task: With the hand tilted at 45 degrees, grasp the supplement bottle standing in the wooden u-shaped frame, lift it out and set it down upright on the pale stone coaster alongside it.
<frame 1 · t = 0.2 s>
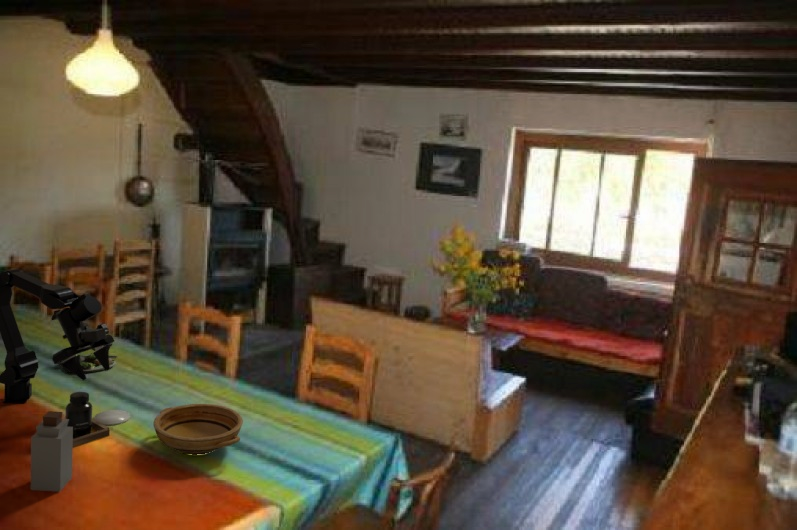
hand: (96, 374, 191), 14 cm above the table, tool tilted 35°, fingers open, 9 cm apart
salad plate: (85, 366, 236), on the table
supplement bottle: (78, 435, 184), resting in wooden u-shaped frame
perfume bottle: (51, 484, 158), on the table
wooden u-shaped frame: (78, 434, 184), on the table
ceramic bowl: (197, 447, 184), on the table
coaster: (112, 418, 196), on the table
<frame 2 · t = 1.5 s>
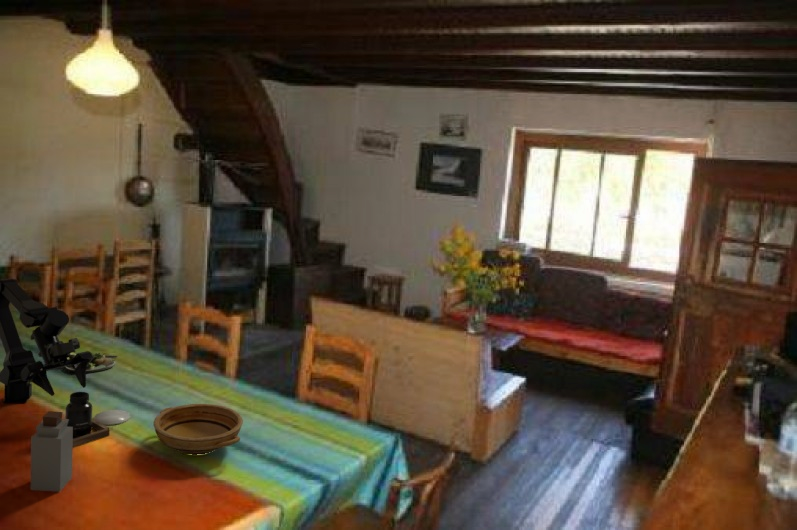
hand: (69, 391, 184), 12 cm above the table, tool tilted 45°, fingers open, 9 cm apart
nothing on the table moved.
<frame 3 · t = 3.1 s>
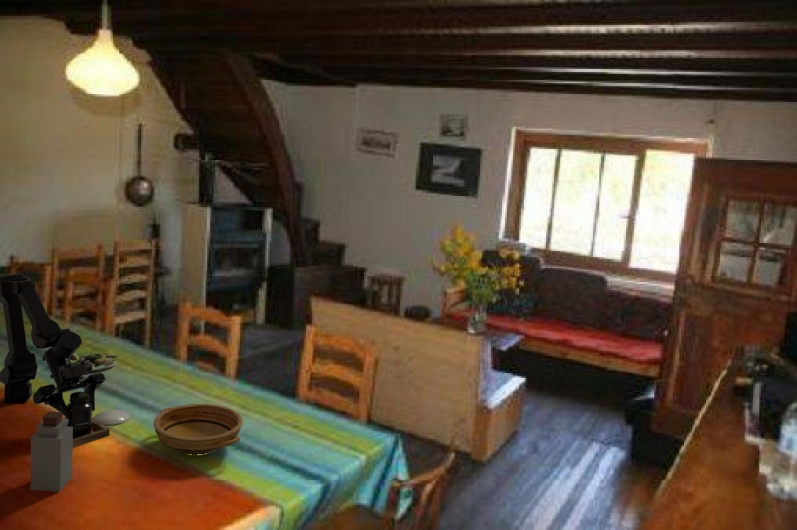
hand: (81, 414, 182), 7 cm above the table, tool tilted 45°, fingers closed on supplement bottle, 7 cm apart
supplement bottle: (78, 435, 184), resting in wooden u-shaped frame, touching gripper
everything else where it was.
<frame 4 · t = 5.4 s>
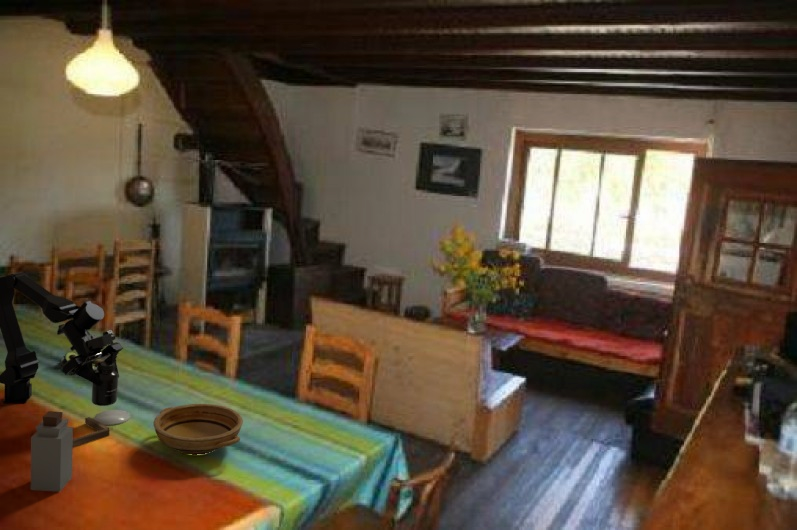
hand: (109, 381, 190), 13 cm above the table, tool tilted 45°, fingers closed on supplement bottle, 7 cm apart
supplement bottle: (104, 402, 191), point 6 cm above the table, touching gripper
everything else where it was.
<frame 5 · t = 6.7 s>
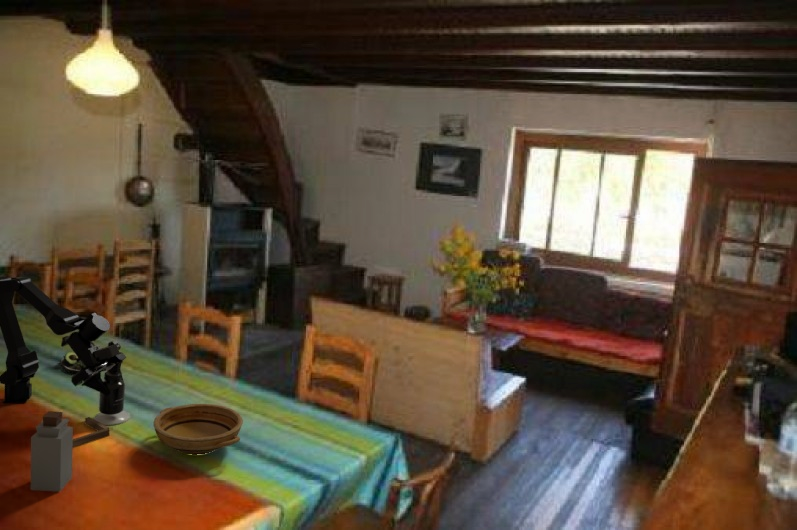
hand: (116, 390, 194), 9 cm above the table, tool tilted 45°, fingers closed on supplement bottle, 7 cm apart
supplement bottle: (111, 411, 195), point 2 cm above the table, touching gripper
everything else where it was.
when the fingers open (8 cm above the table, at t = 7.5 s): supplement bottle stays where it is, resting on coaster.
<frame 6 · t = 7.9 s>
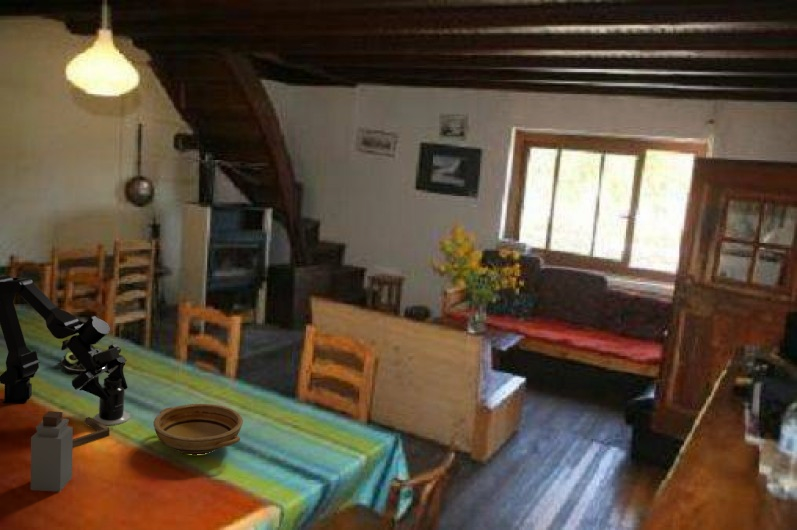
hand: (117, 393, 194), 8 cm above the table, tool tilted 45°, fingers open, 9 cm apart
supplement bottle: (111, 417, 196), resting on coaster
everything else where it was.
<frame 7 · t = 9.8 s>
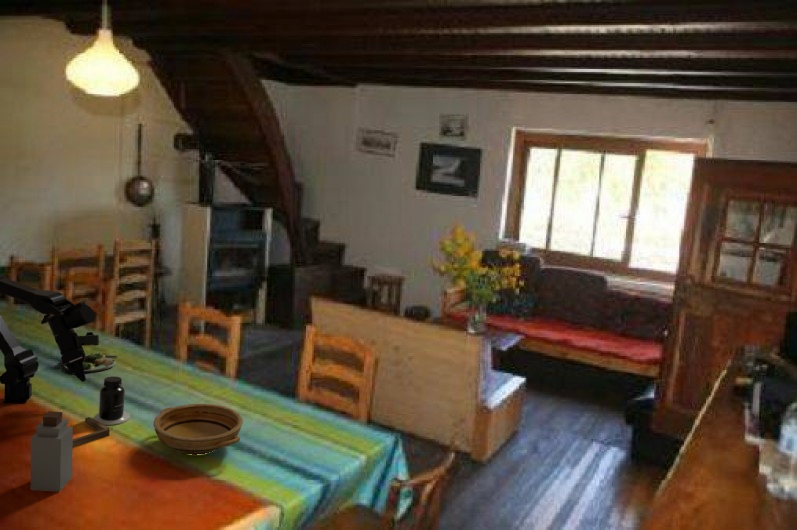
hand: (83, 379, 197), 10 cm above the table, tool tilted 25°, fingers open, 9 cm apart
nothing on the table moved.
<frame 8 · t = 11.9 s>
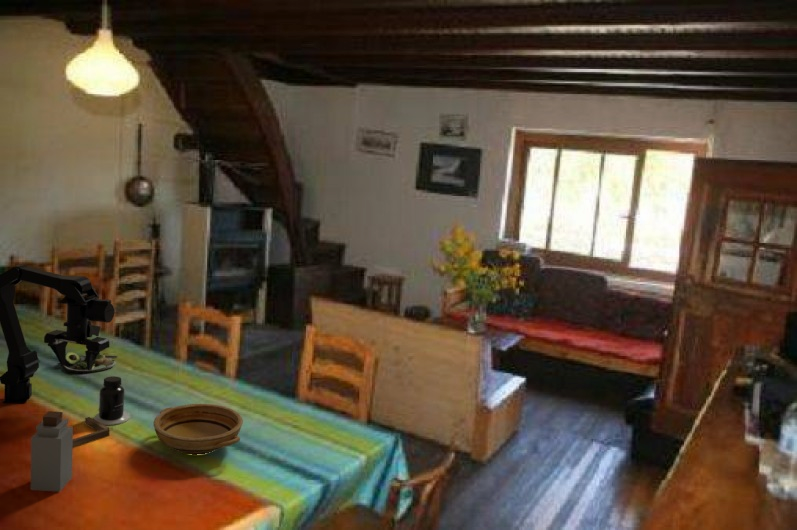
hand: (76, 367, 198), 13 cm above the table, tool pointing down, fingers open, 9 cm apart
nothing on the table moved.
at the end: supplement bottle 0.3 cm from the coaster (horizontally); supplement bottle tilted 0°; the gripper is holding nothing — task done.
